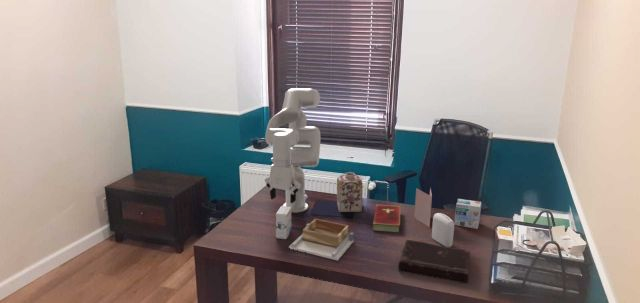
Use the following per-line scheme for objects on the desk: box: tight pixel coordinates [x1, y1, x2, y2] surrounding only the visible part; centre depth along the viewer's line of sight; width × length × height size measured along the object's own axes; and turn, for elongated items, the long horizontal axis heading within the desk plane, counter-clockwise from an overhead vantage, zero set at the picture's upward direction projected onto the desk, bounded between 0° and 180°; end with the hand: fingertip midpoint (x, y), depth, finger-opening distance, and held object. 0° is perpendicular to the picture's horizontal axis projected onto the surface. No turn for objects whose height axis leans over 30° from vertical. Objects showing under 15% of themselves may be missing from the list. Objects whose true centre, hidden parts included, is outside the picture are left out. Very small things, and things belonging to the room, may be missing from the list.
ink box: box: [275, 205, 292, 240], centre depth 197 cm, size 9×5×12 cm, turn 168°
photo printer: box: [431, 212, 455, 248], centre depth 190 cm, size 10×4×12 cm, turn 26°
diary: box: [397, 239, 471, 284], centre depth 174 cm, size 19×25×5 cm
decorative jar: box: [336, 171, 364, 213], centre depth 224 cm, size 12×12×18 cm
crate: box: [302, 218, 350, 248], centre depth 192 cm, size 12×16×5 cm
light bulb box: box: [453, 198, 482, 230], centre depth 207 cm, size 11×7×11 cm, turn 68°
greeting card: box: [413, 187, 434, 228], centre depth 209 cm, size 11×7×15 cm, turn 170°
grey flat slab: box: [288, 222, 355, 261], centre depth 189 cm, size 17×22×4 cm
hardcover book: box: [372, 204, 402, 233], centre depth 211 cm, size 12×21×4 cm, turn 170°
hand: (283, 200), depth 194 cm, fingers open, 9 cm apart
